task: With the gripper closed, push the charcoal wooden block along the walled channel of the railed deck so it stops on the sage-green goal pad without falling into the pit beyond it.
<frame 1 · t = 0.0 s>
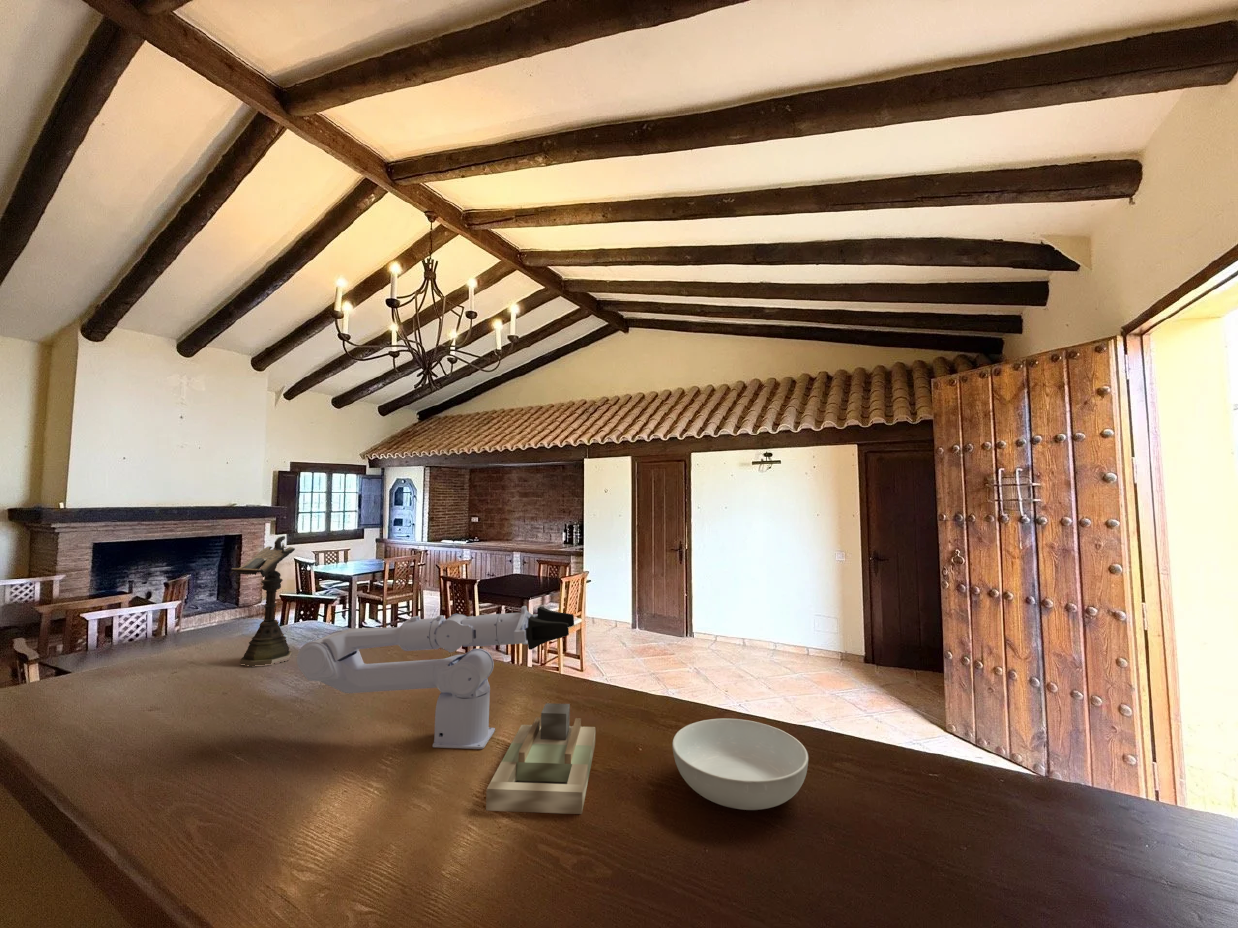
hand: (571, 624, 98), 22 cm above the table, tool horizontal, fingers open, 7 cm apart
lectern: (260, 664, 141), on the table
railed deck: (547, 772, 85), on the table
charcoal block: (555, 733, 93), point 3 cm above the table, touching railed deck
serving bowl: (738, 791, 81), on the table
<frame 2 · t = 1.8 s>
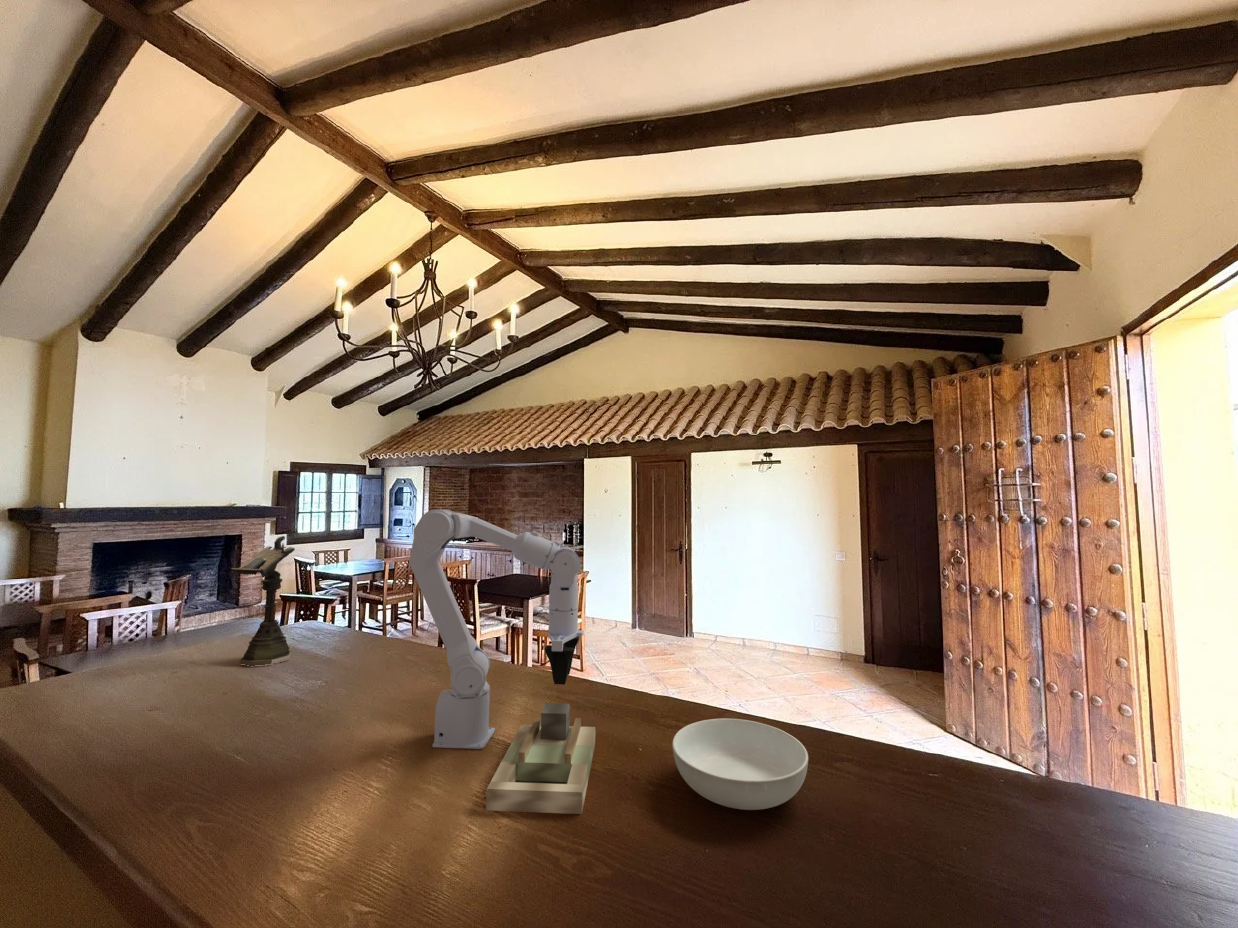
hand: (562, 678, 100), 10 cm above the table, tool pointing down, fingers open, 5 cm apart
nothing on the table moved.
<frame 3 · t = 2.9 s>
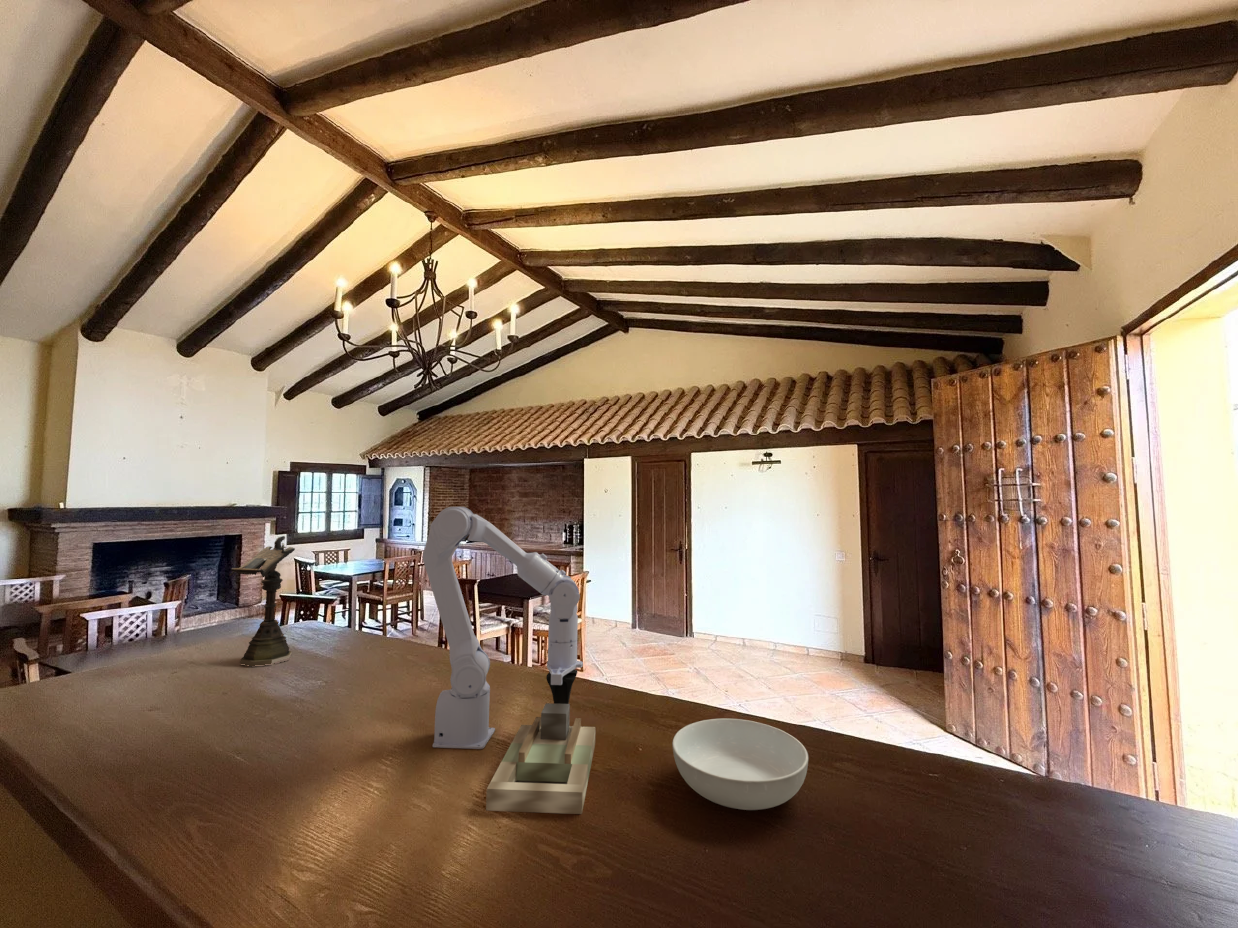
hand: (561, 710, 100), 4 cm above the table, tool pointing down, fingers closed
nothing on the table moved.
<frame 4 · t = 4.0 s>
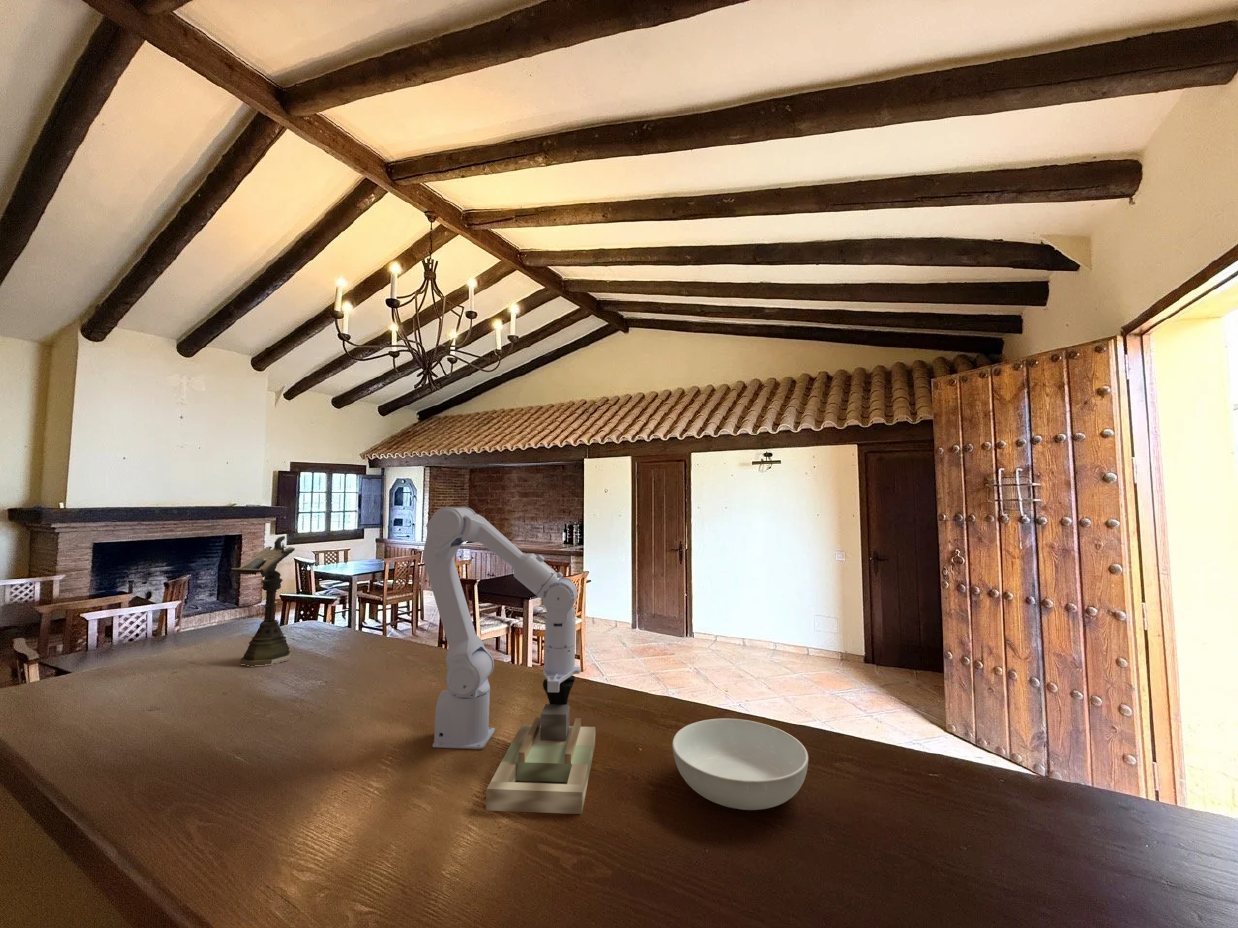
hand: (558, 718, 96), 4 cm above the table, tool pointing down, fingers closed
charcoal block: (555, 734, 92), point 3 cm above the table, touching gripper
everything else where it was.
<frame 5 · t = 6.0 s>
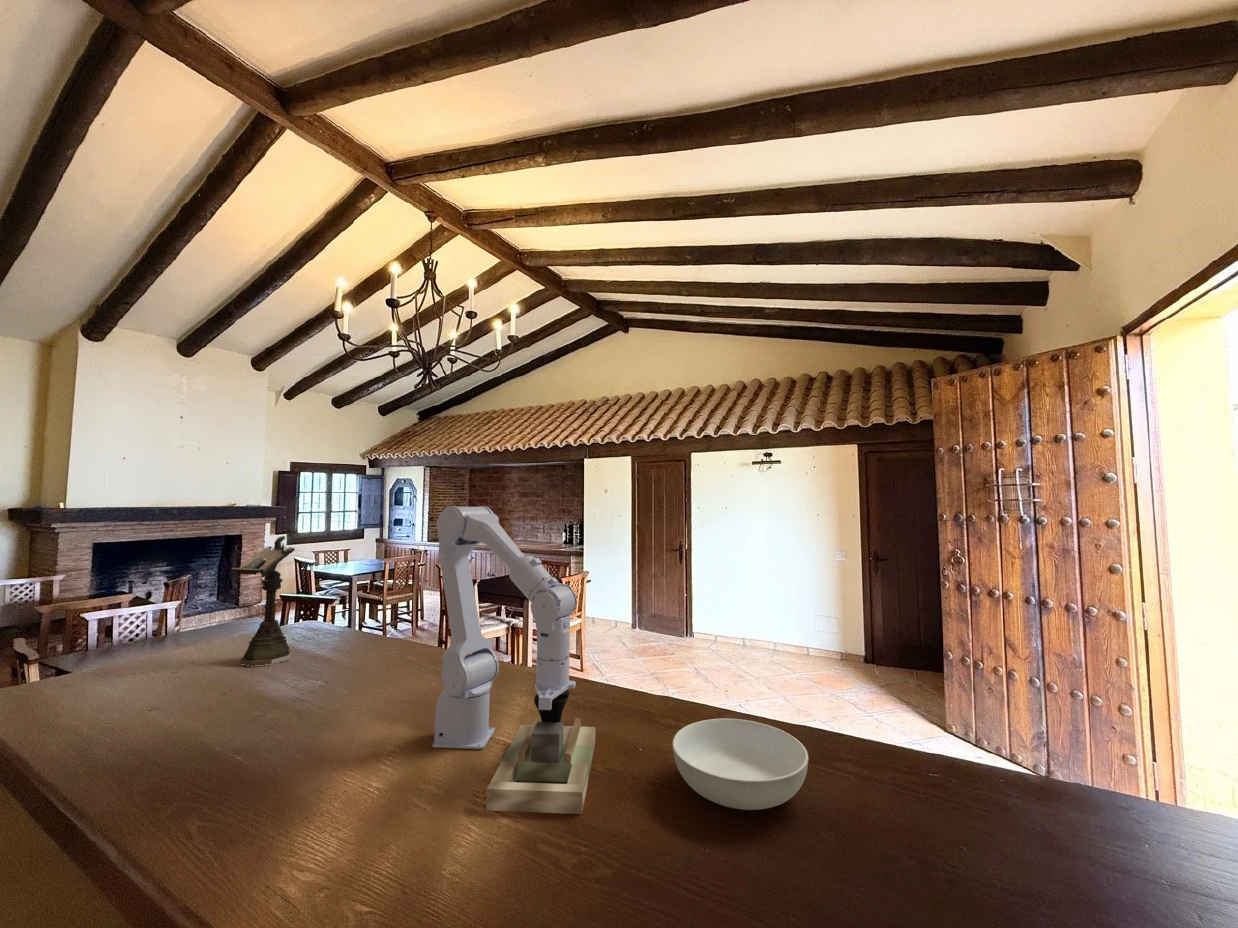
hand: (551, 736, 88), 4 cm above the table, tool pointing down, fingers closed
charcoal block: (547, 755, 85), point 3 cm above the table, touching gripper, railed deck
everything else where it was.
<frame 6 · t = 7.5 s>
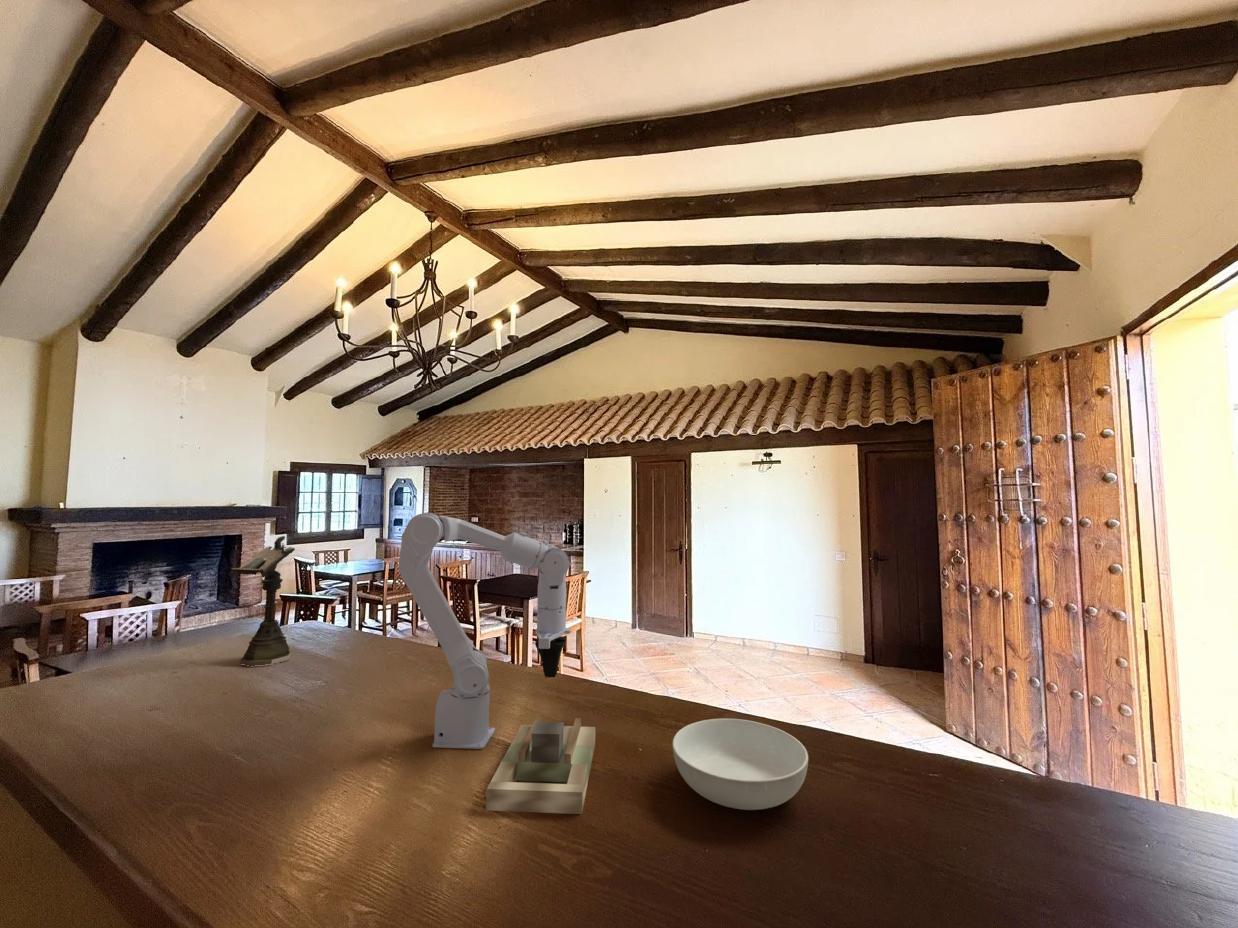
hand: (550, 676, 102), 10 cm above the table, tool pointing down, fingers closed
charcoal block: (547, 755, 85), point 3 cm above the table, touching railed deck
everything else where it was.
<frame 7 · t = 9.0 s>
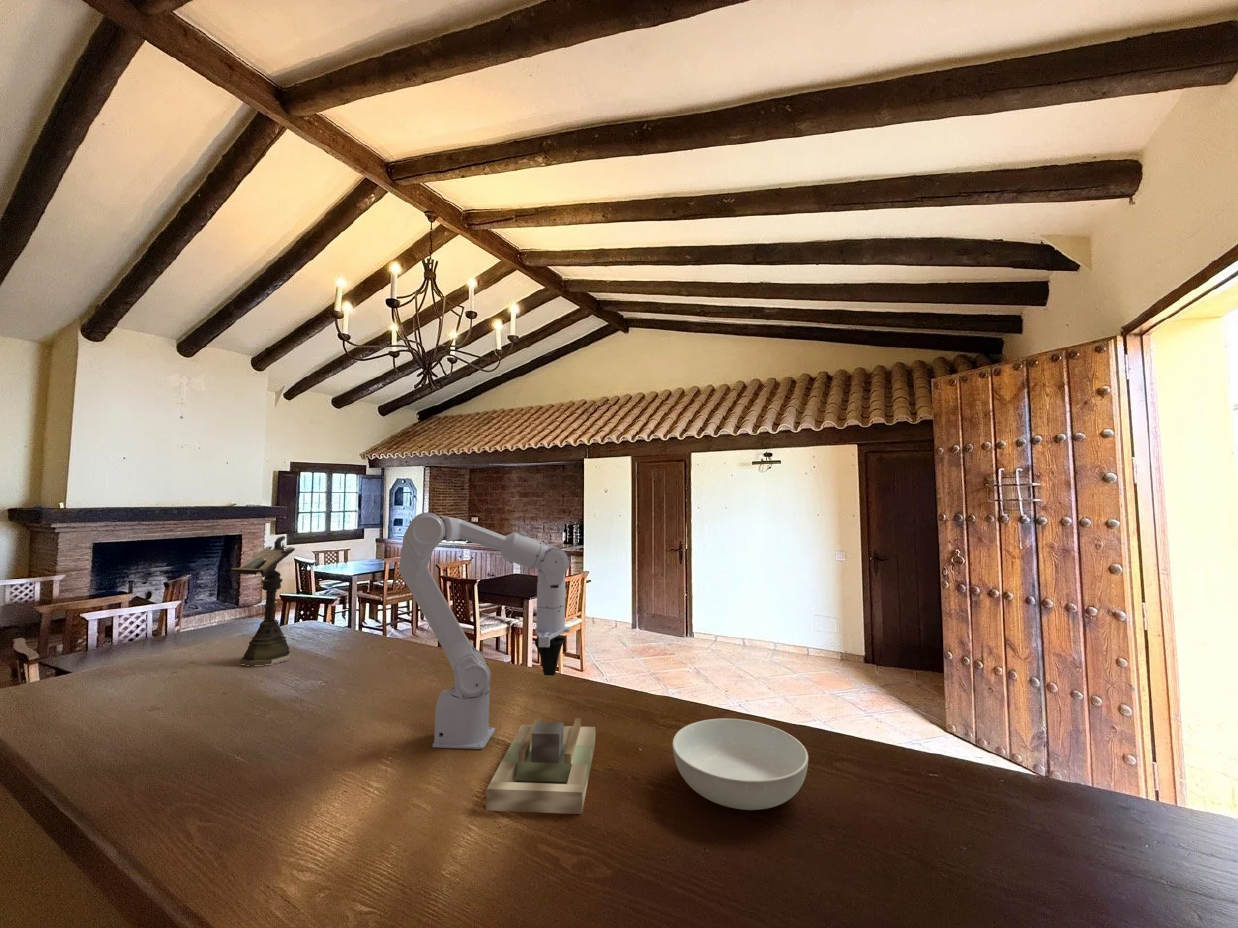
hand: (549, 674, 103), 10 cm above the table, tool pointing down, fingers closed
nothing on the table moved.
at the end: charcoal block 1.0 cm from the target spot, point 3.0 cm above the table; charcoal block tilted 0° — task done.
